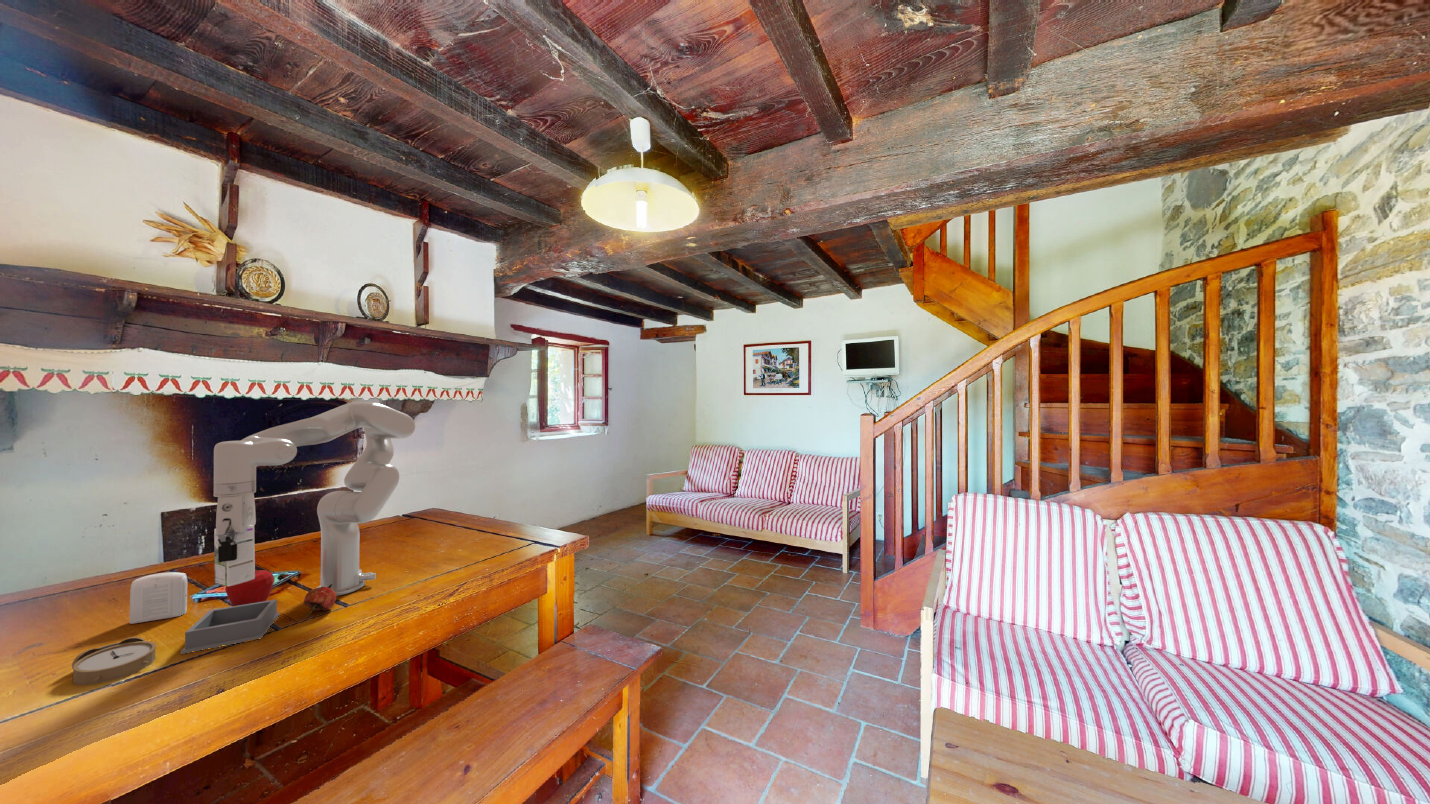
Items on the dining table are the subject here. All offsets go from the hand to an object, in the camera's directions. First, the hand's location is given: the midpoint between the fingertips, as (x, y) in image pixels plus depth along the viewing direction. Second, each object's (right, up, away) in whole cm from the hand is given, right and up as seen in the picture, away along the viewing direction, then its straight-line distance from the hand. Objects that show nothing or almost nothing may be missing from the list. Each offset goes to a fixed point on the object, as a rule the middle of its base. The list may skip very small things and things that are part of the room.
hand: (234, 555), depth 116 cm
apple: (-11, -20, +15) cm, 28 cm away
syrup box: (0, -7, 0) cm, 7 cm away
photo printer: (-29, -20, +7) cm, 36 cm away
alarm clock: (-12, -21, -15) cm, 28 cm away
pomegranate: (+11, -21, +13) cm, 27 cm away
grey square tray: (0, -21, 0) cm, 21 cm away
